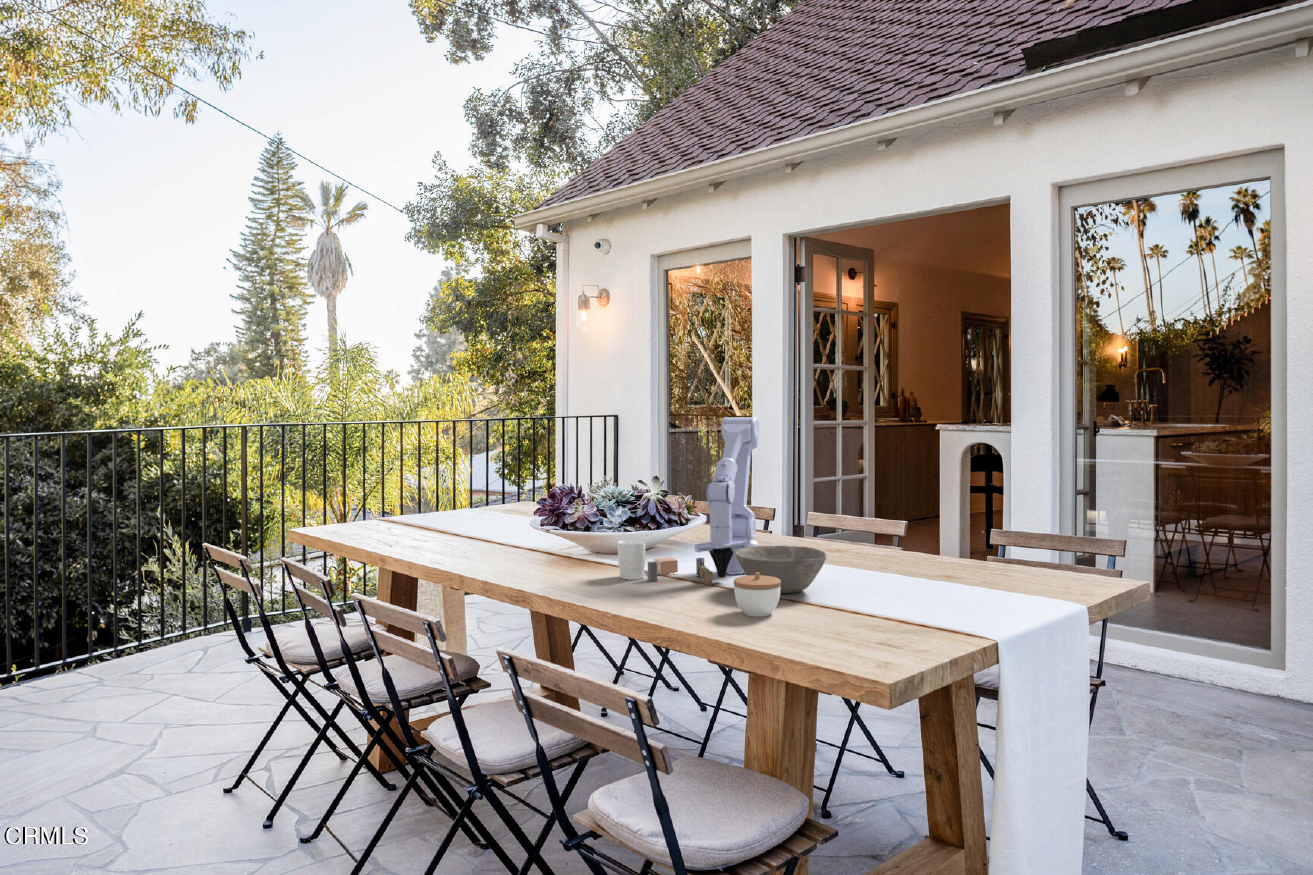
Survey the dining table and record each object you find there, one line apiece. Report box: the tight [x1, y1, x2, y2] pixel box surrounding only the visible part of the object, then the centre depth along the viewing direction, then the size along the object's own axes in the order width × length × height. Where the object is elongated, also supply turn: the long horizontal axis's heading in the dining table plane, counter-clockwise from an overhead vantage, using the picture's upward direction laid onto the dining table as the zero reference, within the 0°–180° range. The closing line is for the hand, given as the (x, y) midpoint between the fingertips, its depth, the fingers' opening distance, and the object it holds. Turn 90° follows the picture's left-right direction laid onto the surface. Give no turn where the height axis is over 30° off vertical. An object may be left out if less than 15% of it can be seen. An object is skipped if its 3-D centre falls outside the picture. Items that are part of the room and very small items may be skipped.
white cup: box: [616, 539, 647, 581], centre depth 236 cm, size 8×8×10 cm
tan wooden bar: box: [699, 564, 713, 587], centre depth 229 cm, size 10×1×4 cm, turn 9°
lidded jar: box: [733, 572, 781, 618], centre depth 195 cm, size 11×11×9 cm
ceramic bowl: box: [735, 545, 827, 595], centre depth 217 cm, size 22×23×10 cm
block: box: [654, 556, 679, 576], centre depth 242 cm, size 5×5×4 cm
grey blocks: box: [647, 557, 705, 582], centre depth 234 cm, size 16×2×5 cm, turn 109°
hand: (721, 576), depth 229 cm, fingers closed
